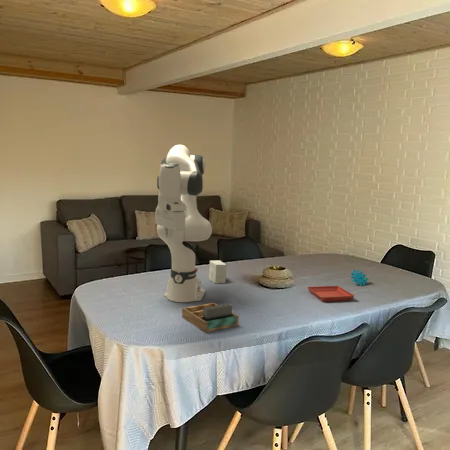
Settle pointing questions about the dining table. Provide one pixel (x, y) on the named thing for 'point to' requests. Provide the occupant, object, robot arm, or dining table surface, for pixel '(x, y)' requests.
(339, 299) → the plant saucer
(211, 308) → the panel
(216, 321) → the rack
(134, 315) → the dining table surface
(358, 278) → the gear
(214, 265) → the skincare box
